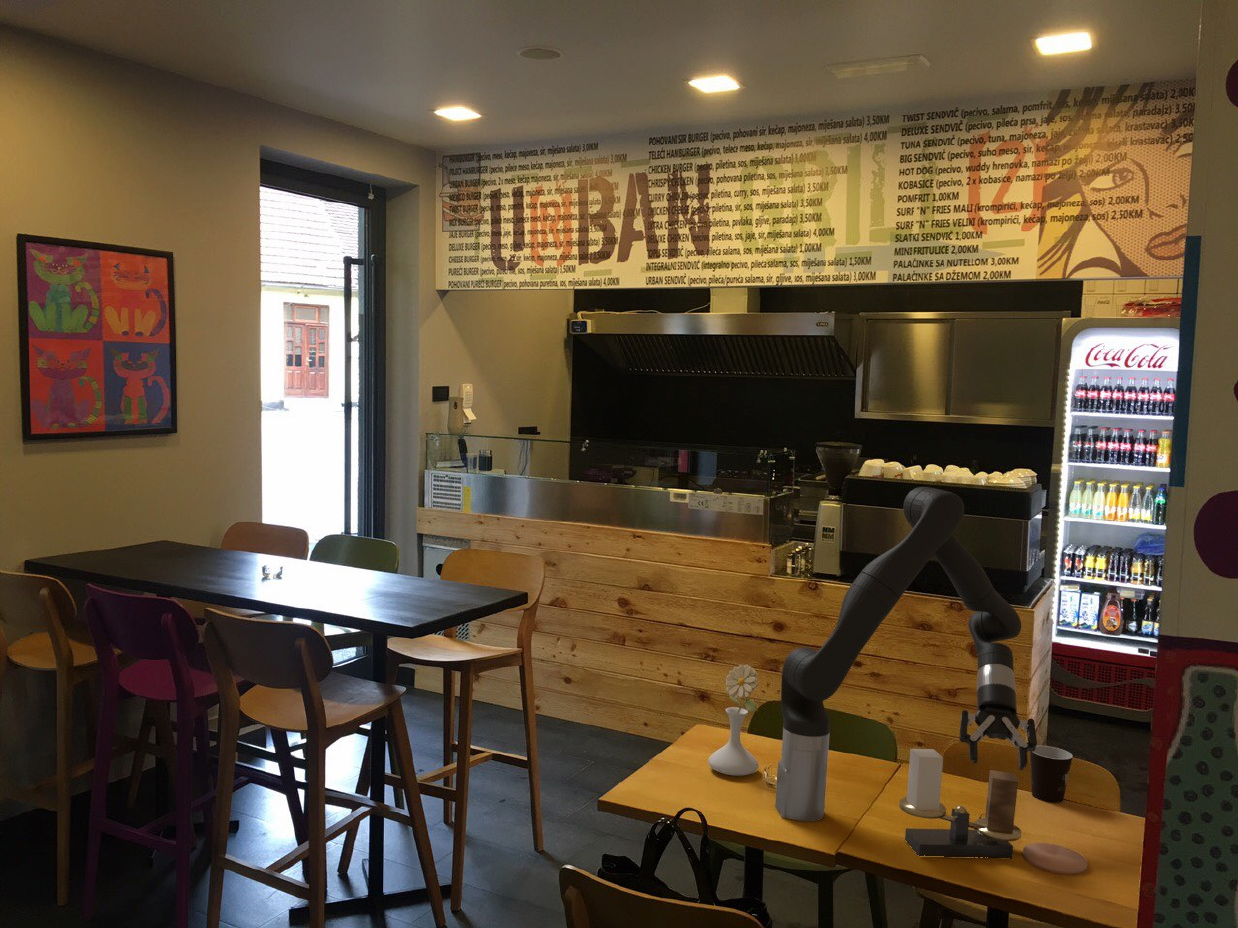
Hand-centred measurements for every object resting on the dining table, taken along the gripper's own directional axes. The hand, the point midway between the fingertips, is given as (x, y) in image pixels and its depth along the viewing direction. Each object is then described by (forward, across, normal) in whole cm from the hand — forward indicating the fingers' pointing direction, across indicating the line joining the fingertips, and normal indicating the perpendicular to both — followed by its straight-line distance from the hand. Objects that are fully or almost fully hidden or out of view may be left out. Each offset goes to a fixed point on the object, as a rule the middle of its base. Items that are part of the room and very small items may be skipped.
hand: (998, 764), depth 195 cm
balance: (+16, -7, +4) cm, 18 cm away
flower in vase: (0, -53, +22) cm, 57 cm away
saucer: (+15, +10, +6) cm, 19 cm away
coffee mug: (-10, +15, +31) cm, 36 cm away
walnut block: (+11, 0, +3) cm, 12 cm away
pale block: (+12, -14, -3) cm, 19 cm away
